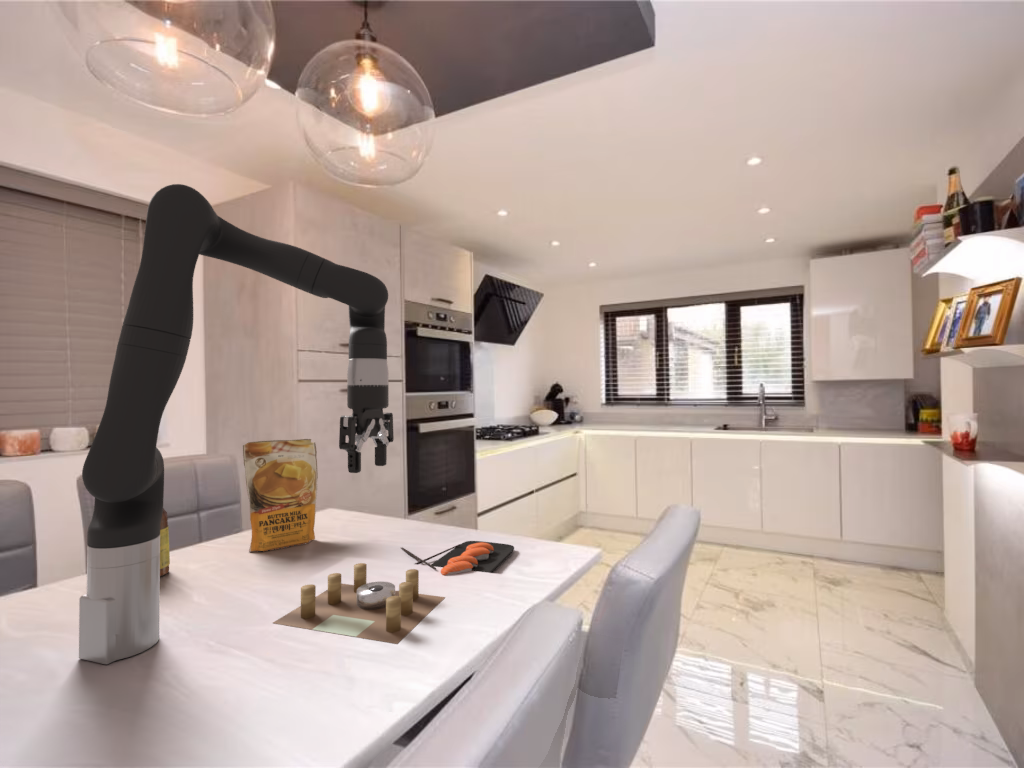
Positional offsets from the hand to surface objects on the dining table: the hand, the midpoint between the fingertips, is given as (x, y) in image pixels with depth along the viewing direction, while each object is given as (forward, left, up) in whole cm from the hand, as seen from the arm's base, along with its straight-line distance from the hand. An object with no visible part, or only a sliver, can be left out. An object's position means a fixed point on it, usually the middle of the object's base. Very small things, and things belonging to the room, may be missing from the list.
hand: (368, 468), depth 92 cm
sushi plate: (+27, -2, -27) cm, 38 cm away
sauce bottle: (+1, +56, -27) cm, 62 cm away
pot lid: (0, -2, -25) cm, 25 cm away
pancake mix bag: (+27, +44, -27) cm, 58 cm away
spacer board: (-3, -1, -26) cm, 27 cm away
